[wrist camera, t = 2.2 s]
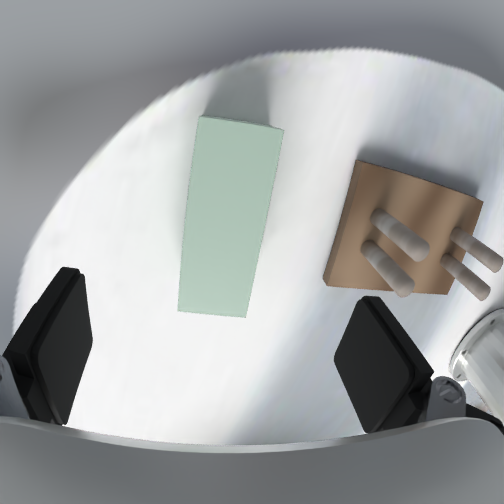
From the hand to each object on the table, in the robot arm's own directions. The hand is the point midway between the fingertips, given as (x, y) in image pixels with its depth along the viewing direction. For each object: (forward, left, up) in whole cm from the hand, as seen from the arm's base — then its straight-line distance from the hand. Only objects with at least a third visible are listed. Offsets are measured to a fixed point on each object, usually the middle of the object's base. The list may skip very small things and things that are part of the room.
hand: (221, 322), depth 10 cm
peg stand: (-16, 0, -13) cm, 21 cm away
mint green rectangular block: (0, 0, -14) cm, 14 cm away
